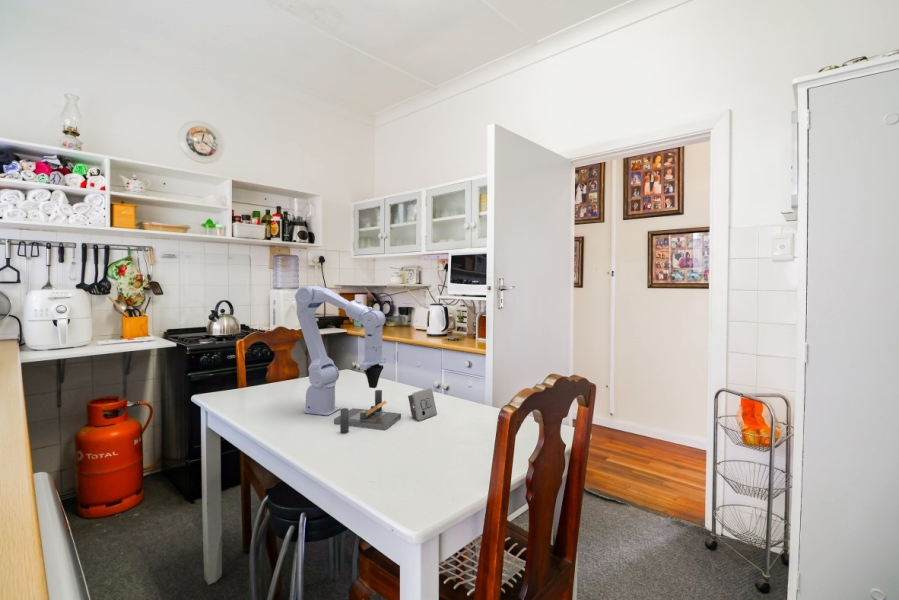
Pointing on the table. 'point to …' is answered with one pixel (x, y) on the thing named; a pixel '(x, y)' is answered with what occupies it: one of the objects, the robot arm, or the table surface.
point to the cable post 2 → (378, 399)
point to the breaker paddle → (374, 408)
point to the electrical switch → (422, 404)
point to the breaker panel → (371, 419)
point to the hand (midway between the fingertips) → (373, 387)
